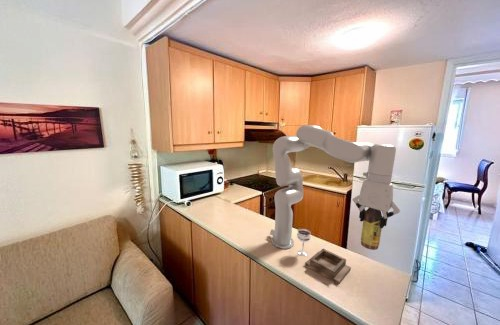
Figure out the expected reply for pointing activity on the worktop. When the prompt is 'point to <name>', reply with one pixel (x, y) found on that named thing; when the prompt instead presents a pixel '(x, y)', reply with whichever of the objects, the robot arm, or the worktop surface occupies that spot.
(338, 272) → the caddy
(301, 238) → the wineglass
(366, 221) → the sauce bottle
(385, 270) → the worktop surface
